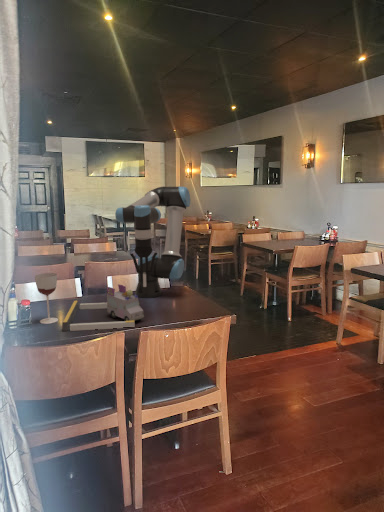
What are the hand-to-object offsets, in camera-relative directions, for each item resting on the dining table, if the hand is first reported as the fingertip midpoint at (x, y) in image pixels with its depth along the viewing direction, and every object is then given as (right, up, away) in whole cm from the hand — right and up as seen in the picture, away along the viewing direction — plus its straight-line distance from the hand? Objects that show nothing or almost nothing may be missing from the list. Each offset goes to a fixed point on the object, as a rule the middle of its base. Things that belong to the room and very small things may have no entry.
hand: (144, 286), depth 183 cm
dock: (-20, -15, -1) cm, 25 cm away
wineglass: (-45, -16, -5) cm, 48 cm away
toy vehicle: (-9, -16, -2) cm, 18 cm away
